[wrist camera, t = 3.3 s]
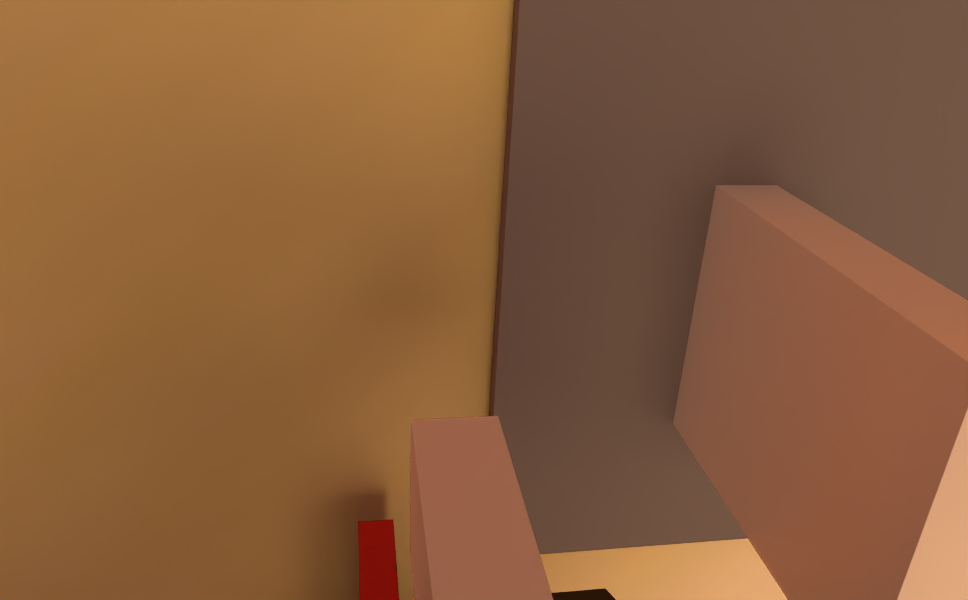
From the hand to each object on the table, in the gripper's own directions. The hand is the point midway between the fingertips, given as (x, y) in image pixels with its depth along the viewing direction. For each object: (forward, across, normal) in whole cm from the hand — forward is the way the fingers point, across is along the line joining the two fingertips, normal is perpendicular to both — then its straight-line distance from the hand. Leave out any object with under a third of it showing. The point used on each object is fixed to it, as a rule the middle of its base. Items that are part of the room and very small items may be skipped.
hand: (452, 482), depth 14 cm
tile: (+6, +8, 0) cm, 10 cm away
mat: (+7, +12, 0) cm, 14 cm away
